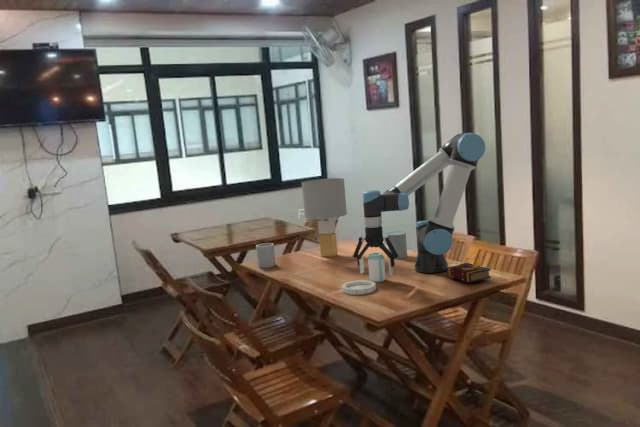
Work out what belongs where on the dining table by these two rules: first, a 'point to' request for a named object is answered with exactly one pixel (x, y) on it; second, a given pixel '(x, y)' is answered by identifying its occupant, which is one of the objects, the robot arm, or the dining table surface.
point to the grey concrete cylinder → (399, 243)
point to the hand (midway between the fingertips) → (376, 273)
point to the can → (376, 267)
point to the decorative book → (468, 272)
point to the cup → (265, 255)
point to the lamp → (325, 209)
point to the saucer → (358, 287)
